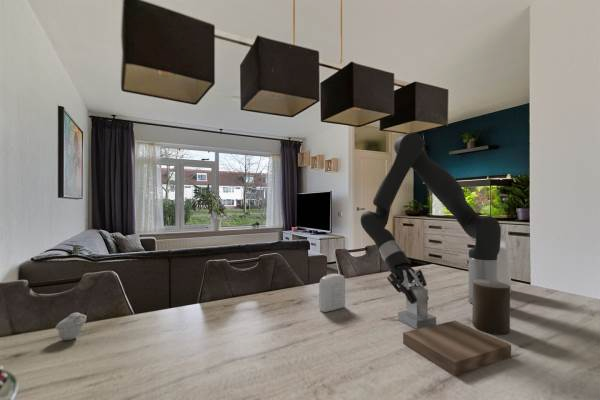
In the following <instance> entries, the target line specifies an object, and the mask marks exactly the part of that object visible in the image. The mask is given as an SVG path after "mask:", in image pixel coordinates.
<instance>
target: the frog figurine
mask: <svg viewBox="0 0 600 400" xmlns="http://www.w3.org/2000/svg"><path fill="white" fill-rule="evenodd" d="M87 317H88V316H87V315H85V314H83V313H80V312H73V313H70V314H69V315H68V316H67V317H65V318H63V319H62V320H61V321H59V322H58V323H57V324H56V326H55V329H56V330H57V331H58V336H59V338H60V339H61V340H64V341H72V340H74V339H75V338H77V337H78V336H79V335H80V333H81V332H82V327H83V326H84V325H85V323H86V321H87Z"/></svg>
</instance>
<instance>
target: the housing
mask: <svg viewBox="0 0 600 400" xmlns="http://www.w3.org/2000/svg"><path fill="white" fill-rule="evenodd" d="M409 288H410V289H409V290H411V292H412V293H413V295H414V297H415V298H416V302H415V303H414V304H411V303H410V302H409V301H408V299H407V297H406V296H405V299H406V301H405V309H406V310H402V311H398V312H397V313H398V314H397V319H398V321H400V322H402V323H404V324H405V325H408V326H409V327H410V328H411V327H412V328H413V329H414V330H416V329H420V328H425V327H429V326H433V325H437V316H435V315H433V314H430V313H428V312H429V311H428V310H429V308H428V303H429V302H428V301H429V299H428V298H429V295H428V294H429V293H428V291H429V289H428V288H425V287H424V288H423V287H420V286H418V284H416V286H411V285H410V286H409Z"/></svg>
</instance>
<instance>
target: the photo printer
mask: <svg viewBox="0 0 600 400" xmlns="http://www.w3.org/2000/svg"><path fill="white" fill-rule="evenodd" d="M318 288H319V289H318V290H319V292H318V293H319V294H318V295H319V297H318V299H319V300H318V304H319V305H318V308H319V311H320V312H322V313H327V312H331V311H335V310H339V309H343V308H345V307H346V277H345V276H344V275H342V274H339V273H331V274H330V273H329V274H327V275H324V276H322V278H320V280H319V286H318Z"/></svg>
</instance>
